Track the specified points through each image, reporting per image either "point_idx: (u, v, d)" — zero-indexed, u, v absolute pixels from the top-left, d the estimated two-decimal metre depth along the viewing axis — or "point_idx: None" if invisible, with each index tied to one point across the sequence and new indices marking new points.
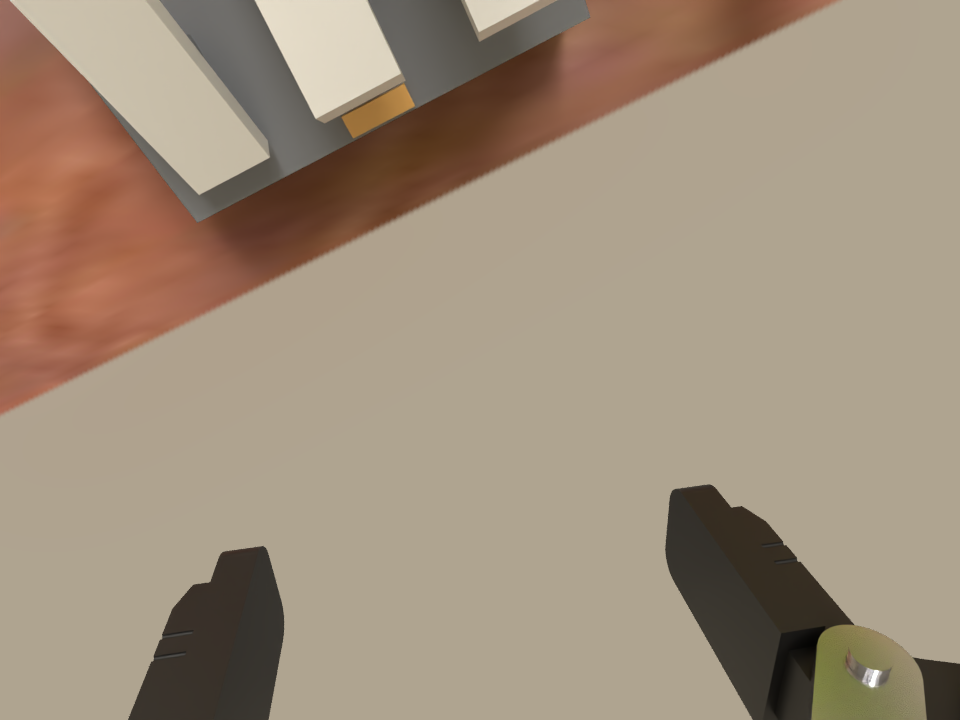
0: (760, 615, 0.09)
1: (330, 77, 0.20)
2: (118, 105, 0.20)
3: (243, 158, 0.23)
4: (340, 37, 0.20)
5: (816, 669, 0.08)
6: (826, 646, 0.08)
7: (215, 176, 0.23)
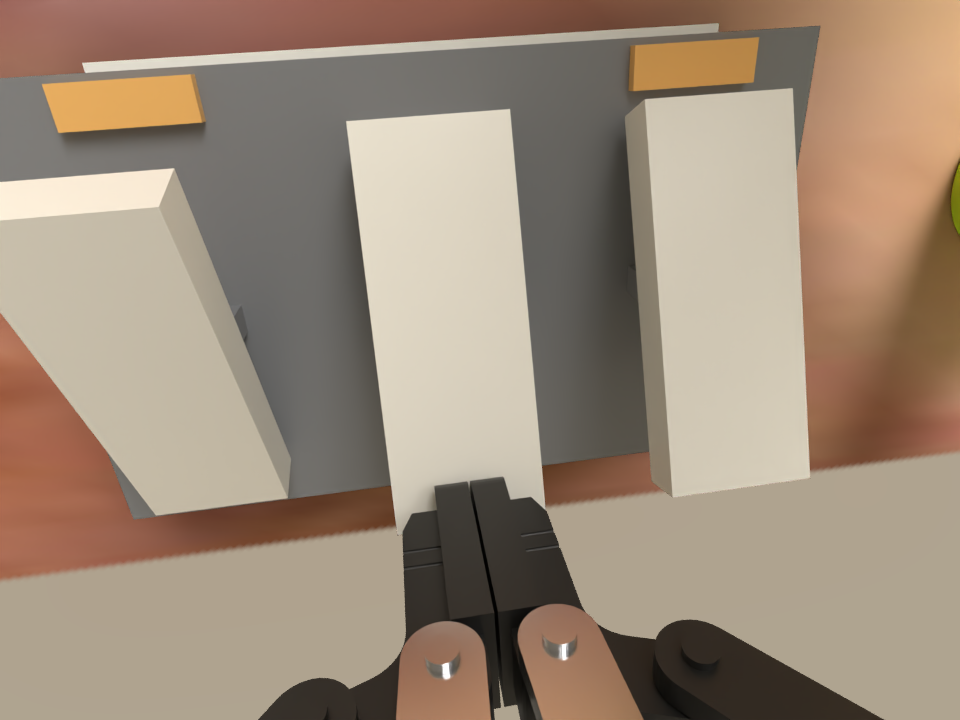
0: (493, 597, 0.10)
1: None
2: (85, 410, 0.12)
3: (248, 493, 0.15)
4: (479, 441, 0.13)
5: (528, 671, 0.08)
6: (526, 643, 0.09)
7: (194, 502, 0.15)
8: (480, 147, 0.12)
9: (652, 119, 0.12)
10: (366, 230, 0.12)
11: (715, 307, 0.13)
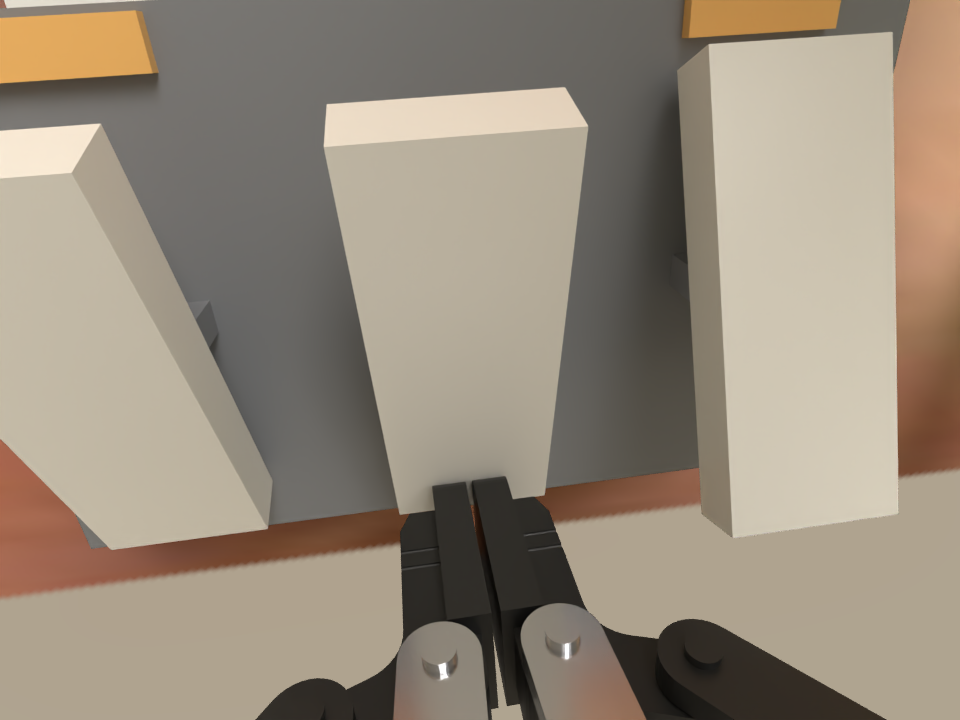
0: (496, 595, 0.10)
1: None
2: (7, 433, 0.10)
3: (220, 524, 0.13)
4: (487, 455, 0.12)
5: (531, 670, 0.08)
6: (529, 642, 0.09)
7: (155, 535, 0.13)
8: (533, 181, 0.08)
9: (717, 70, 0.10)
10: (361, 286, 0.09)
11: (789, 307, 0.11)
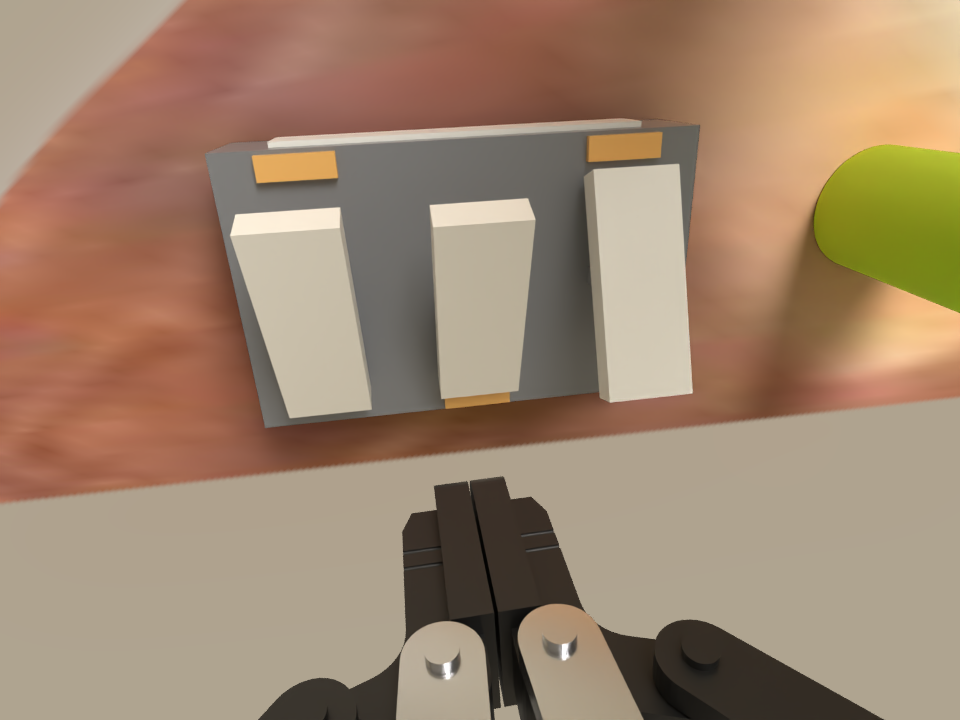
0: (494, 596, 0.10)
1: (467, 382, 0.24)
2: (270, 342, 0.21)
3: (348, 404, 0.24)
4: (489, 365, 0.24)
5: (528, 671, 0.08)
6: (526, 643, 0.09)
7: (314, 409, 0.24)
8: (513, 239, 0.19)
9: (597, 180, 0.22)
10: (439, 279, 0.20)
11: (634, 290, 0.22)
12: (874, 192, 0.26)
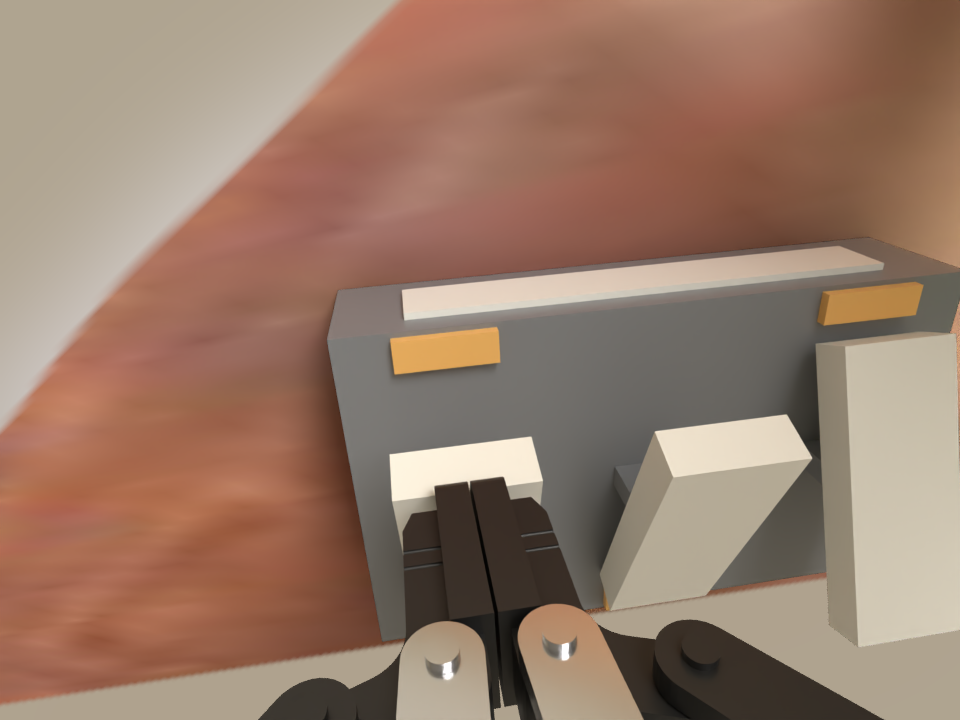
0: (493, 596, 0.10)
1: (647, 595, 0.19)
2: None
3: None
4: (682, 580, 0.18)
5: (528, 672, 0.08)
6: (526, 643, 0.09)
7: None
8: (773, 478, 0.14)
9: (850, 360, 0.16)
10: (658, 521, 0.15)
11: (893, 501, 0.17)
12: None
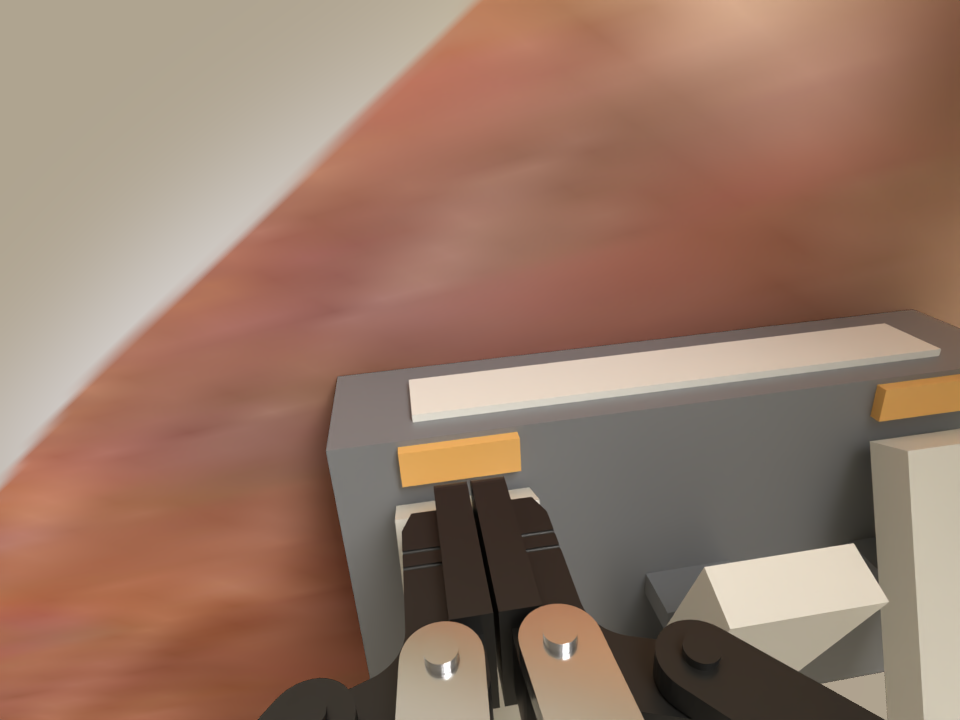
0: (494, 596, 0.10)
1: None
2: None
3: None
4: None
5: (529, 671, 0.08)
6: (527, 643, 0.09)
7: None
8: (841, 620, 0.12)
9: (913, 466, 0.14)
10: None
11: None
12: None
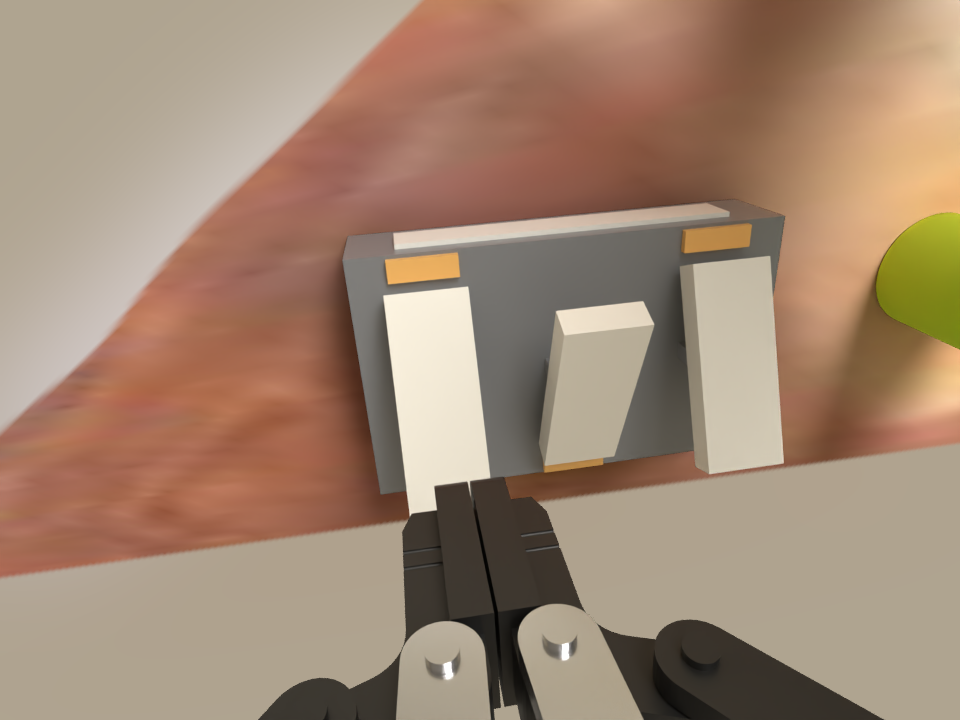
0: (493, 597, 0.10)
1: (570, 451, 0.27)
2: (401, 410, 0.23)
3: None
4: (592, 437, 0.26)
5: (528, 671, 0.08)
6: (526, 643, 0.09)
7: None
8: (632, 340, 0.22)
9: (697, 274, 0.24)
10: (562, 374, 0.22)
11: (730, 371, 0.24)
12: (939, 264, 0.28)
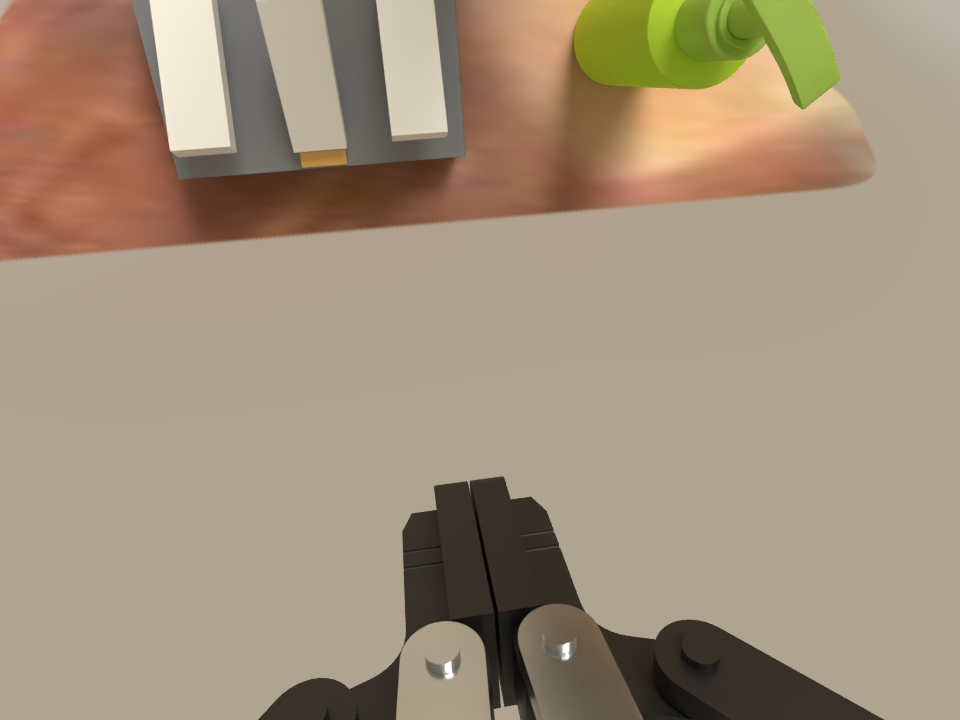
0: (493, 597, 0.10)
1: (308, 137, 0.37)
2: (162, 74, 0.33)
3: (213, 139, 0.33)
4: (320, 122, 0.36)
5: (528, 671, 0.08)
6: (526, 643, 0.09)
7: (188, 142, 0.33)
8: (309, 12, 0.32)
9: None
10: (269, 44, 0.32)
11: (405, 60, 0.34)
12: (592, 13, 0.38)
